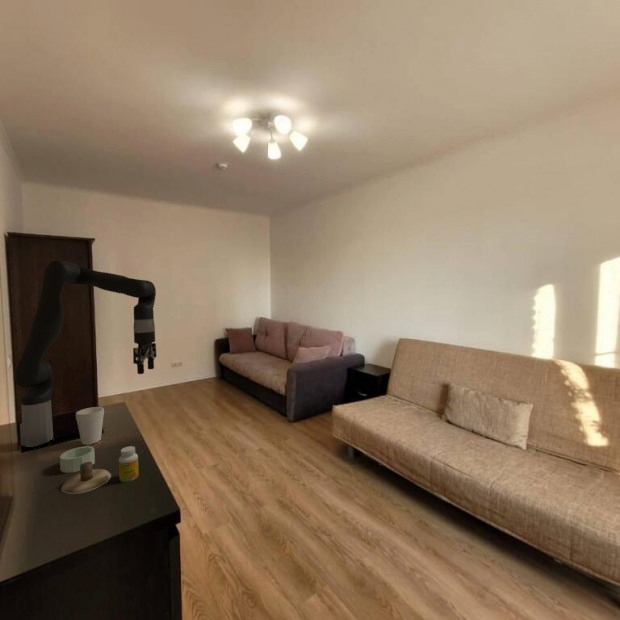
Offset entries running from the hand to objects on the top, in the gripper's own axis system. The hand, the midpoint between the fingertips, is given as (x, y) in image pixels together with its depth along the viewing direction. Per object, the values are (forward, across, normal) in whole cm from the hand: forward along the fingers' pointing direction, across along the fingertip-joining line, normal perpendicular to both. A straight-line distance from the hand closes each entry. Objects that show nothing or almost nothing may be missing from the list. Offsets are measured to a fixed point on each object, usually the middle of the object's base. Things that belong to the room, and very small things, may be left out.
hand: (146, 371), depth 134 cm
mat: (+28, +30, -6) cm, 42 cm away
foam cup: (+29, -1, -24) cm, 37 cm away
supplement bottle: (+29, +28, +6) cm, 40 cm away
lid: (+28, +30, -6) cm, 41 cm away
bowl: (+29, +19, -16) cm, 38 cm away
